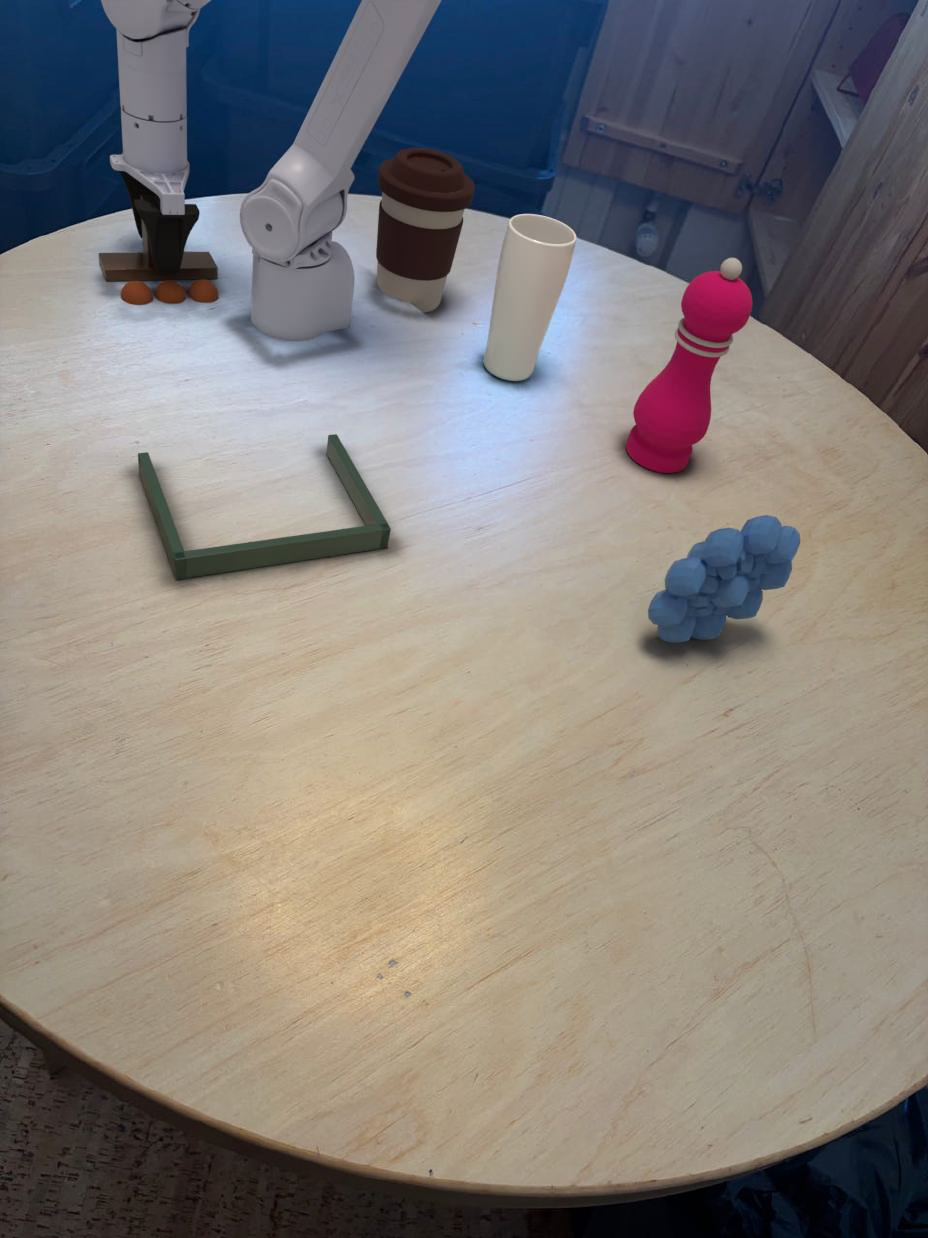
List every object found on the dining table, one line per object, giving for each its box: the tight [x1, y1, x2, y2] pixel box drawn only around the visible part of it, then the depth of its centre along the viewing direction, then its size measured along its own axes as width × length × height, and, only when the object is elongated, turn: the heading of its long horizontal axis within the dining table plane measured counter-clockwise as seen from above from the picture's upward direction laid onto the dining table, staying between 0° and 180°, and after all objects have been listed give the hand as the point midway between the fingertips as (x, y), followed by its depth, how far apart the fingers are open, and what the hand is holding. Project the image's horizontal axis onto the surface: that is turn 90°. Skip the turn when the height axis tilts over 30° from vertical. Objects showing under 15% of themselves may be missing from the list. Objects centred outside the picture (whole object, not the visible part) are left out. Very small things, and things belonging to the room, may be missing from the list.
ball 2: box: [187, 279, 220, 304], centre depth 95 cm, size 3×3×3 cm
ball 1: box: [120, 280, 154, 306], centre depth 92 cm, size 3×3×3 cm
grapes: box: [647, 514, 801, 644], centre depth 72 cm, size 12×7×12 cm, turn 112°
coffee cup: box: [375, 147, 476, 314], centre depth 101 cm, size 10×10×15 cm
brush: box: [97, 195, 219, 282], centre depth 95 cm, size 4×11×9 cm, turn 115°
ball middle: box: [154, 280, 188, 305], centre depth 94 cm, size 3×3×3 cm
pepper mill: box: [625, 257, 753, 474], centre depth 86 cm, size 7×7×20 cm
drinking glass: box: [483, 213, 578, 382], centre depth 94 cm, size 7×7×15 cm
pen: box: [137, 433, 392, 581], centre depth 75 cm, size 13×17×2 cm
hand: (158, 254), depth 95 cm, fingers open, 7 cm apart
